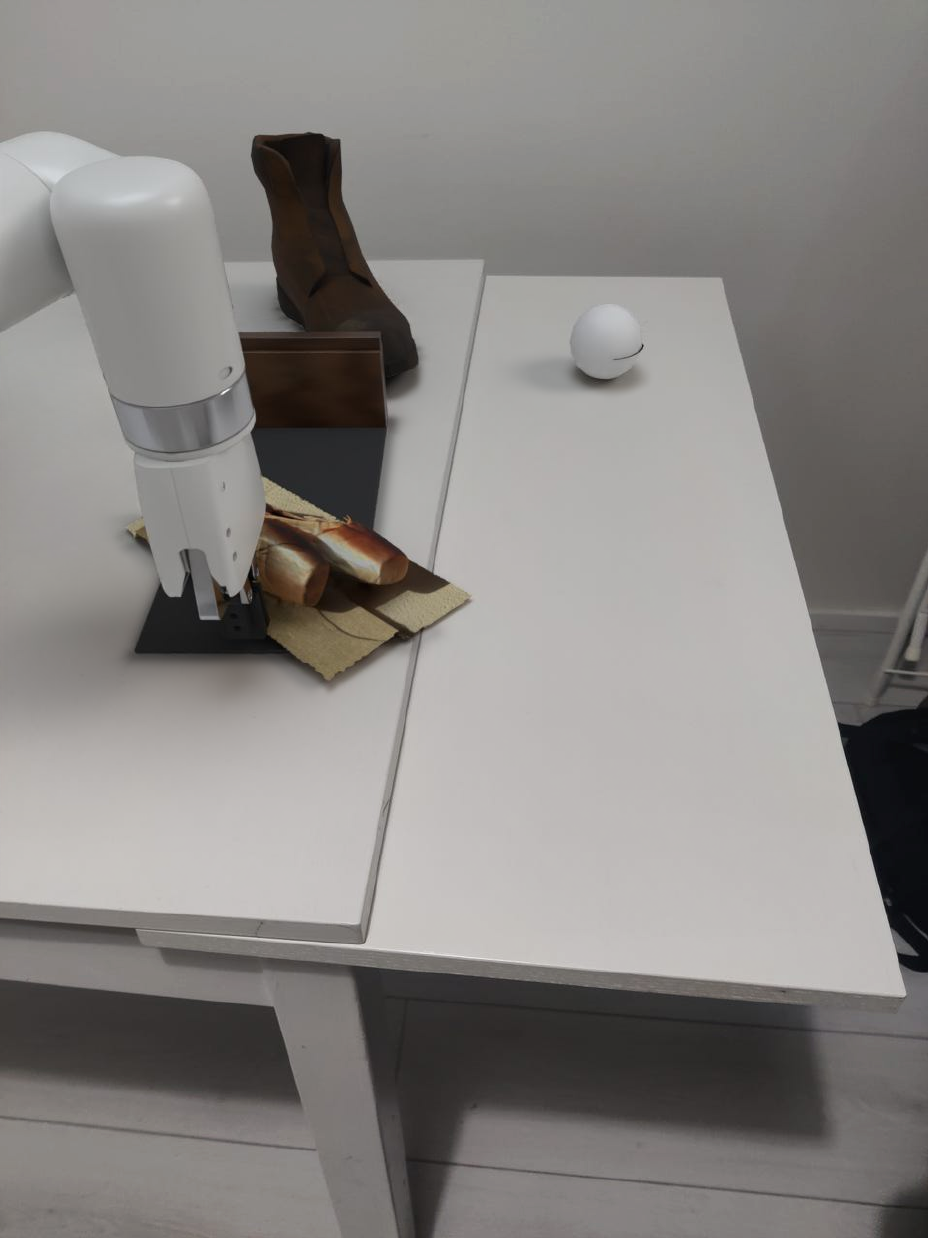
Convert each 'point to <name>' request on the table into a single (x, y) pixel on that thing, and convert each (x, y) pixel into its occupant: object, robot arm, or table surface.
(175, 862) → the table surface
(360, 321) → the boot
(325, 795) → the table surface
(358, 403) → the brown wooden panel
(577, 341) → the white ovoid
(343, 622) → the ballet pointe shoes
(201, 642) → the black display mat
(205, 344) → the robot arm
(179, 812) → the table surface
